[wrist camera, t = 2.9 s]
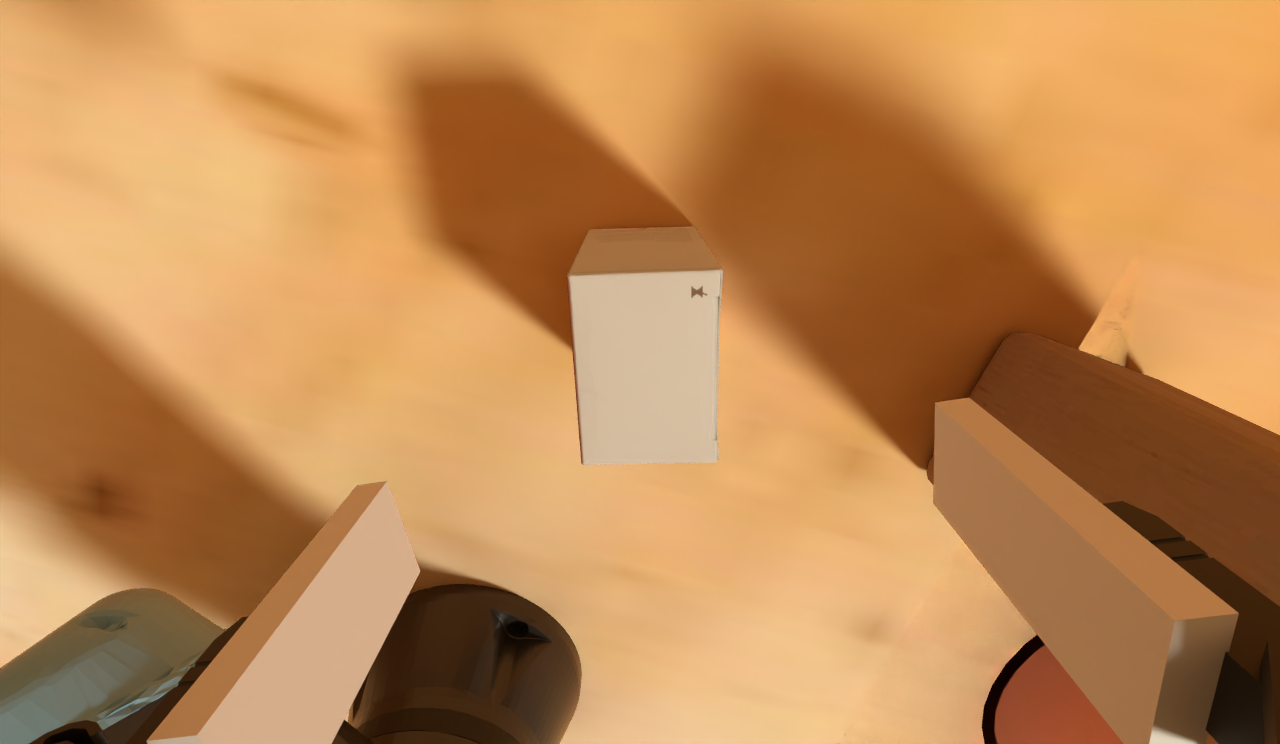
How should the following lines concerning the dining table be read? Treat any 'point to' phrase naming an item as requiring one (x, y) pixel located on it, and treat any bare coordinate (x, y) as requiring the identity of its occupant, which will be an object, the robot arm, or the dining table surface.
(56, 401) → the dining table surface
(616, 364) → the small box
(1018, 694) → the ceramic vessels
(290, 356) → the dining table surface
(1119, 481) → the block
